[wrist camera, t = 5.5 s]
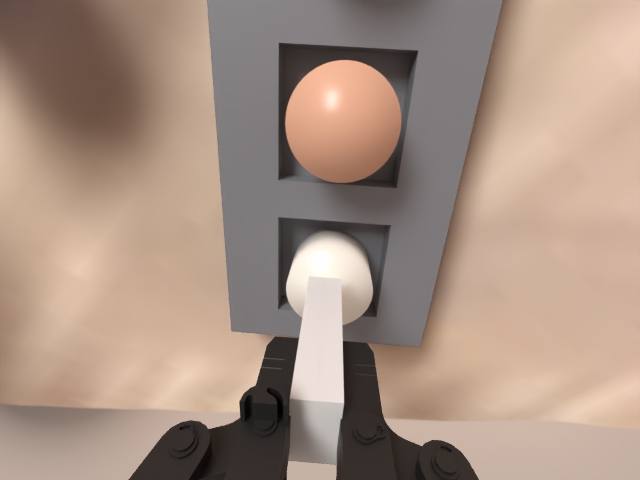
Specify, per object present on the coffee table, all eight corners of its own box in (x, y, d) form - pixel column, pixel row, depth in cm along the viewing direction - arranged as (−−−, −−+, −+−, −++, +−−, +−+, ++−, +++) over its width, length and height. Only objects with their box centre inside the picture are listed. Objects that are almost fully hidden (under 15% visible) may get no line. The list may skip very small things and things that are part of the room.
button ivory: (293, 292, 20) (285, 323, 17) (294, 226, 18) (286, 249, 15) (363, 297, 20) (367, 330, 17) (372, 232, 18) (378, 256, 15)
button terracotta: (294, 165, 16) (284, 179, 13) (296, 64, 14) (285, 56, 11) (383, 171, 16) (391, 186, 13) (396, 70, 14) (410, 63, 11)
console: (244, 303, 23) (231, 331, 20) (216, -247, 12) (182, -344, 10) (410, 317, 23) (420, 347, 20) (527, -238, 12) (582, -337, 9)
